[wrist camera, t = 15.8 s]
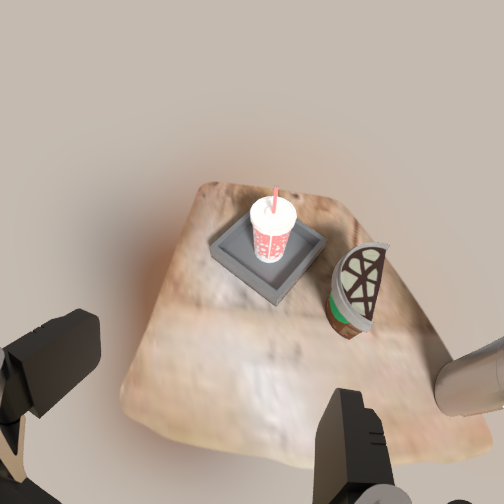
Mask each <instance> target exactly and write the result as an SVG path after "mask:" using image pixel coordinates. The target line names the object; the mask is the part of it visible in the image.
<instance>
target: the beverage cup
mask: <svg viewBox="0 0 504 504" xmlns="http://www.w3.org/2000/svg"><path fill="white" fill-rule="evenodd" d="M277 195H278V186H277V185H275V187H274V196H267V197H264V198H261V199H259V200H257V201H256V202H255V203H254V204H253V206H252V208H251V210H250V218H251V223H252V224H253V235H254V250H255V254H256V256H257V258H259V259H260V260H261V261H263V262H266V263H273V262H276V261H278V260H279V259H280V258H281V257H282V256H283V253H284V250H285V247H286V244H287V241H288V237H289V234H290V231H291V229H292V228H293V227H294V224H295V221H296V218H297V215H296V209H295V208H294V207H293V205H292V204H291V203H290V202H288V201H287V200H285V199H284V198H280V197H277Z"/></svg>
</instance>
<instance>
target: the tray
mask: <svg viewBox="0 0 504 504" xmlns="http://www.w3.org/2000/svg"><path fill="white" fill-rule="evenodd" d="M250 210H251V209H250ZM250 210H249V211H248V212H247V213H246V214H245V215H244V216H242V217H241V218H240V219H239V220H238V221H237V222H236V223H235V224H234V225H233V226H231V227H230V228H229V229H228V230H227V231H226V232H225V233H224V234H223V235H222V236H221V237H219V238H218V239H217V240H216V241H215V242H214V243H213V244H212V245H211V246H210V252H211V257H212V258H213V259H215V260H216V261H217V262H219V263H220V264H221V265H222V266H224V267H225V268H226V269H227V270H229V271H230V272H231V273H233V274H234V275H235V276H236V277H238V278H239V279H240V280H242V281H243V282H244V283H246V284H247V285H248V286H249V287H251V288H252V289H253V290H255V291H256V292H257V293H259V294H260V295H261V296H262V297H264V298H265V299H266V300H268V301H269V302H270V303H272V304H273V305H274V306H277V305H278V304H279V302H280V301H281V300H282V299H283V298H284V297H285V295H286V294H287V293H288V292H289V291H290V290H291V288H292V287H293V286H294V285H295V284H296V282H297V281H298V280H299V279H300V278H301V276H302V275H303V274H304V273H305V272H306V270H307V269H308V268H309V267H310V266H311V264H312V263H313V262H314V261H315V260H316V258H317V257H318V256H319V255H320V253H321V252H322V251H323V250H324V247H325V245H326V242H327V240H328V239H327V238H325V237H324V236H322V235H321V234H319V233H318V232H316V231H315V230H313V229H312V228H310V227H309V226H307V225H306V224H304V223H303V222H301V221H299V220H298V219H296V221H295V224H294V227H293V228H292V229H291V231H290V234H289V237H288V241H287V244H286V247H285V250H284V253H283V256H282V257H281V258H280V259H279V260H278V261H276V262H273V263H266V262H263V261H261V260H260V259H259V258H257V256H256V254H255V250H254V235H253V224H252V223H251V218H250Z"/></svg>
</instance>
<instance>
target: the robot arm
mask: <svg viewBox="0 0 504 504" xmlns="http://www.w3.org/2000/svg"><path fill="white" fill-rule="evenodd" d="M100 358H101V342H100V323H99V318H98V317H97V316H96V315H93V314H91V313H89V312H87V311H84V310H82V309H76V310H74V311H72V312H71V313H69V314H67V315H66V316H63V317H59V318H55V319H51V320H50V321H48V322H46V323H44V324H43V325H41V327H37V328H36V329H34V330H33V332H29V333H27V334H26V335H24V336H22V337H21V338H19V339H17V340H16V341H14V342H12V343H11V344H9V345H7V346H6V347H4V348H3V349H2V348H0V504H61V503H60V502H59V501H58V500H57V499H55V498H54V497H53V496H51V495H50V494H48V493H47V492H46V491H44V490H43V489H41V488H40V487H39V486H38V485H36V484H35V483H34V482H32V481H31V480H30V479H29V478H27V475H26V473H25V470H24V465H23V449H24V433H25V416H24V414H25V413H26V412H27V411H30V412H31V413H32V414H34V415H35V416H36V417H38V418H39V419H40V418H41V417H42V416H43V415H44V414H45V413H46V412H47V411H49V410H50V409H51V408H52V407H53V406H54V405H55V404H56V403H57V402H58V401H60V399H62V398H63V397H64V396H65V395H66V394H67V393H68V392H69V391H70V390H72V389H73V388H74V387H75V386H76V385H77V384H78V383H79V382H80V381H82V380H83V379H84V378H85V377H86V376H87V375H88V374H89V373H91V372H92V371H93V370H94V369H95V368H96V367H97V365H98V363H99V361H100ZM435 399H436V402H437V405H438V407H439V408H440V410H441V411H442V412H443V413H445V414H446V415H449V416H460V415H463V416H465V417H466V416H472V415H477V414H483V413H488V412H492V411H497V410H501V409H504V336H503V337H502V338H500V339H498V340H496V341H494V342H492V343H490V344H488V345H486V346H484V347H482V348H480V349H478V350H476V351H474V352H472V353H470V354H468V355H465V356H463V357H461V358H459V359H457V360H454V361H452V362H450V363H448V364H446V365H445V366H444V367H443V368H442V369H441V371H440V372H439V374H438V376H437V379H436V383H435ZM383 435H384V431H383V427H382V422H381V420H380V419H379V417H378V416H377V414H376V413H375V412H374V410H373V409H368V408H364V403H363V398H362V394H361V392H360V391H354V390H348V389H342V388H336V390H335V391H334V393H333V395H332V397H331V399H330V401H329V404H328V406H327V408H326V410H325V412H324V414H323V416H322V418H321V420H320V422H319V425H318V428H317V432H316V438H315V466H314V487H313V503H312V504H412V502H411V499H410V498H409V496H408V495H407V493H406V492H404V491H403V490H402V489H400V488H398V487H396V486H395V484H394V479H393V473H392V468H391V463H390V458H389V454H388V449H387V446H386V440H385V436H383ZM448 504H472V503H470V502H468V501H465V500H454V501H451V502H449V503H448Z"/></svg>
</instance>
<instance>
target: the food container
mask: <svg viewBox="0 0 504 504" xmlns="http://www.w3.org/2000/svg"><path fill="white" fill-rule="evenodd" d="M388 247H389V245H387V244H384V243H379V242H370V243H365V244H361V245H359V246H356V247H354V248H353V249H351V250H350V251H348V252H347V253H346V254H345V255H344V256H343V257H342V258H341V259H340V260H339V261H338V263H337V265H336V266H335V269H334V271H333V275H332V282H331V287H332V289H331V292H330V294H329V297H328V299H327V302H326V315H327V318H328V321H329V323H330V325H331V326H332V328H333V329H334V330H335V331H336V332H337V333H338V334H340V335H341V336H343V337H344V338H347V339H349V340H350V339H351V338H353V337H354V336H356V335H358V334H359V333H361V332H362V331H364V332H366V333H367V332H368V331H369V330H370V328H371V327H372V325H373V324H374V322H372V318H373V312H374V308H375V303H376V299H377V295H378V291H379V287H380V283H381V277H382V270H383V264H384V259H385V253H386V250H387V249H388Z"/></svg>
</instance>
